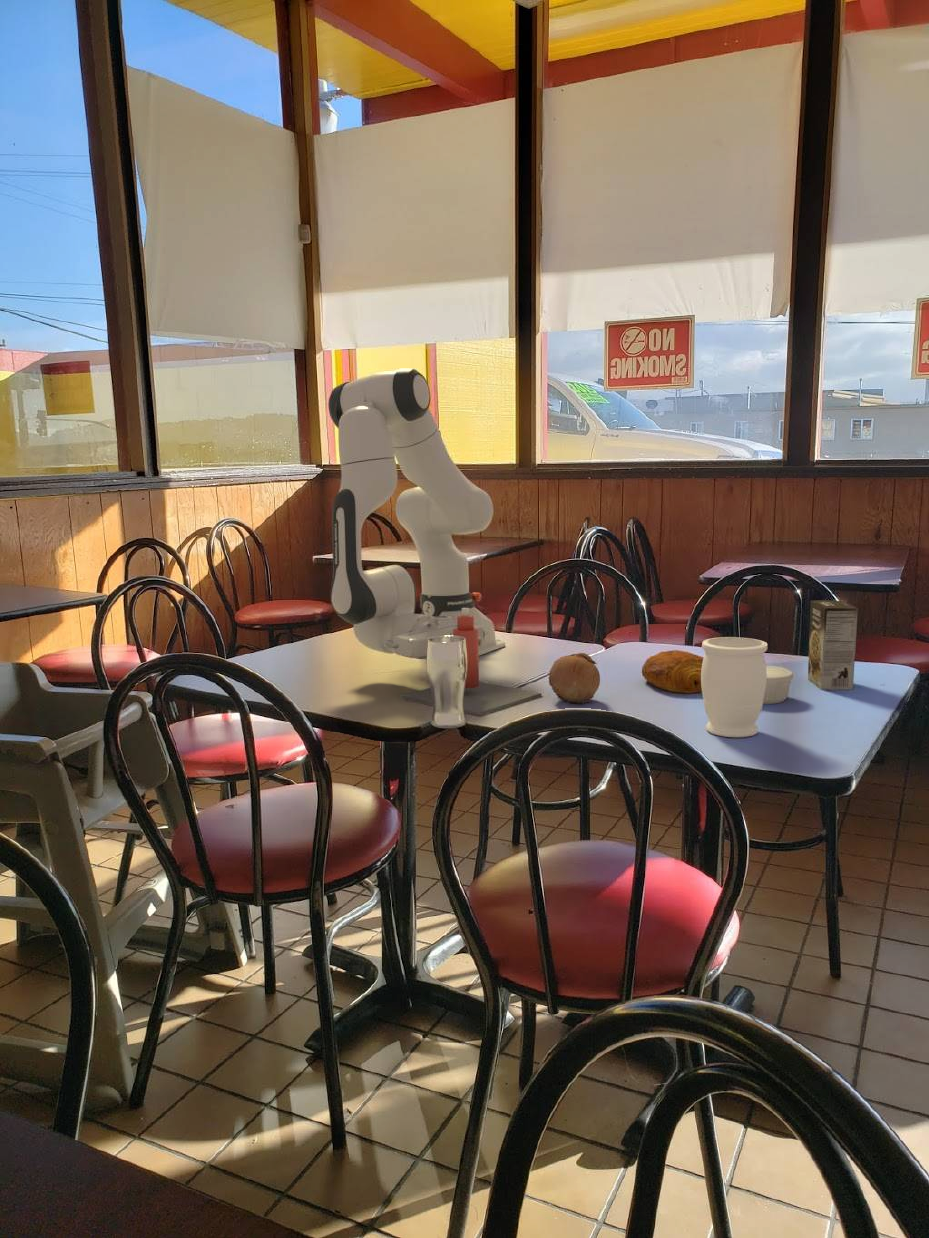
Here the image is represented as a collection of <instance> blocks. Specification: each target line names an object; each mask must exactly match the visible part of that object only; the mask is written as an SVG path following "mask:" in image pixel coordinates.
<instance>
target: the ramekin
mask: <svg viewBox="0 0 929 1238" xmlns="http://www.w3.org/2000/svg"><path fill="white" fill-rule="evenodd" d="M766 672H767V681H766V690H765V694H764V698H763V705H768V704H769V705H771V704H772V705H773V704H779V703H782V702H785V701H786V699H788V696H789V692H790V687H791V684H792V683H791V682H792V680H793V678H794V673H793V671H791V670H789V669H788V668H785V667H783V666H782V667H781V666H776V665H767V664H766Z"/></svg>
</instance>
